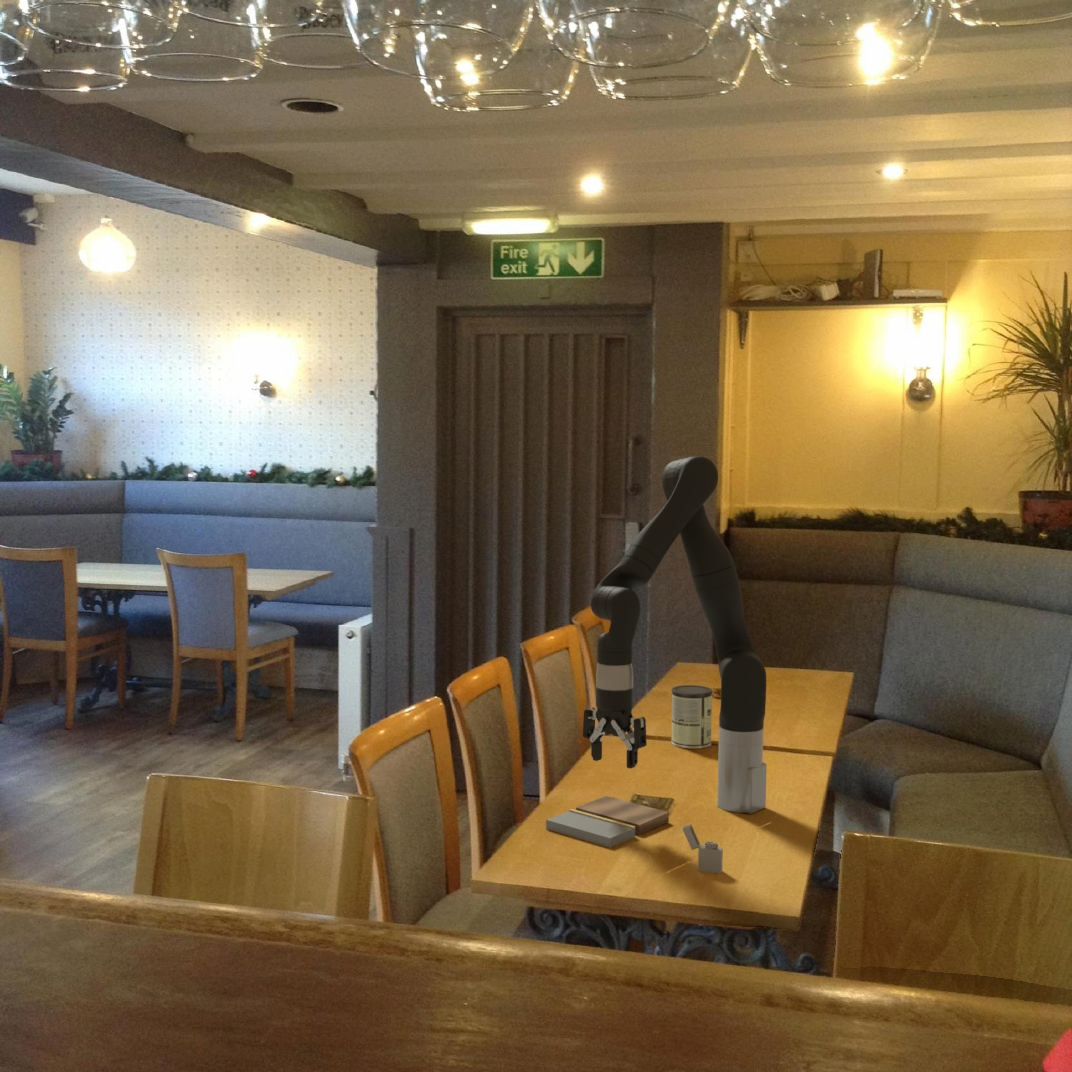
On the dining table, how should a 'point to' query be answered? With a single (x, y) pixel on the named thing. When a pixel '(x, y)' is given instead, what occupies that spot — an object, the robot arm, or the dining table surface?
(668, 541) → the robot arm
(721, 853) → the lighter
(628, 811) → the walnut plank
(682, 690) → the coffee can
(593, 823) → the board
